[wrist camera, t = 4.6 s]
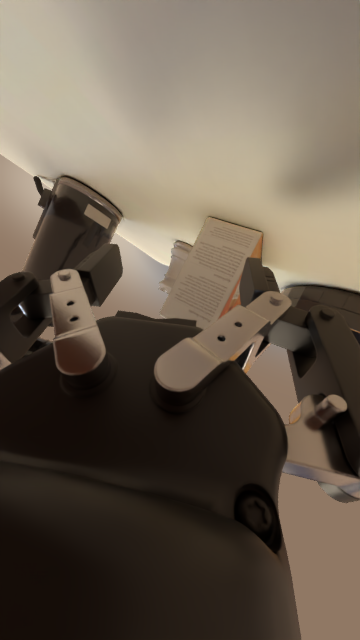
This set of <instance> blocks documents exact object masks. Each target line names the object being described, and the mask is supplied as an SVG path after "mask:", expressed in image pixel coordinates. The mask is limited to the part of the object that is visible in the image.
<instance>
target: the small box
mask: <svg viewBox="0 0 360 640" xmlns="http://www.w3.org/2000/svg"><path fill="white" fill-rule="evenodd" d="M262 238H263V233H262V232H258V231H255V230H251V229H248V228H244V227H241V226H238V225H234V224H231V223H228V222H225V221H221V220H218V219H215V218H211V217H208V218H207V219H206V221H205V223H204V225H203V227H202V229H201V231H200V233H199V235H198V237H197V239H196V241H195V243H194V245H193V247H192V249H191V251H190V253H189V255H188V257H187V259H186V261H185V263H184V265H183V267H182V269H181V271H180V273H179V275H178V277H177V279H176V281H175V283H174V285H173V287H172V289H171V291H170V293H169V295H168V297H167V299H166V301H165V303H164V305H163V307H162V309H161V311H160V315H161V316H163V317H165V318H166V319H168V318H181V319H189V320H197V323H196V326H197V327H200V328H202V329H206V328H207V327H208V326H210V325H211V324H212V323H214V322H215V321H217V320H218V319H219V318H221V317H222V316H223V315H225V314H226V313H227V312H229V311H230V310H231V309H233V308H234V307H236V306H237V305H239V304H240V305H241V302H240V293H239V285H240V280H241V276H242V272H243V269H244V265H245V261H246V258H247V257H252V258H260V259H261V251H262Z"/></svg>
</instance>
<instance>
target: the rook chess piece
mask: <svg viewBox="0 0 360 640" xmlns="http://www.w3.org/2000/svg"><path fill="white" fill-rule="evenodd" d="M191 249H192V247H191V246H190V245H188V244H186V243H183V242H180V241H178V242H175V243H174V248H172V250H171V253H172V256H171V263H170V266H169V269H168V271H167V273H166V274H165V278H164V280H163V281H161V282H159V284H160V287H159V289H160V290H162V291H163V292H165V291H167V292H166V293H167V294H169V293H170V291H171V289H172V287H173V285H174V283H175V281H176V279H177V277H178V275H179V273H180V271H181V269H182V267H183V265H184V263H185V261H186V259H187V257H188V255H189V253H190V251H191Z"/></svg>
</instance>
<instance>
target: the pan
mask: <svg viewBox="0 0 360 640" xmlns="http://www.w3.org/2000/svg"><path fill="white" fill-rule="evenodd" d="M282 294H284V295H286V296H287V297H289V299H290V300H291V303H292V304H291V306H293V307H295V308H298V309H301V310H305V311H308V312H309V310H310V308H311V307H312V306H315V305H323V306H328V307H331V308H333V309H335V310H337V311H338V312H339V313H341V314H342V315H343V317H344V319H345V320H346V322H347V324H348V326H349V327H350V329H351V331H352V333H353V334H354V336H355V338H356V340H357V342H358V343H359V345H360V295H358V294H355V293H351V292H347V291H342V290H337V289H332V288H326V287H319V286H295V287H291V288H286V289H284V290H283V291H282Z"/></svg>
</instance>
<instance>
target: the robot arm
mask: <svg viewBox="0 0 360 640" xmlns="http://www.w3.org/2000/svg"><path fill="white" fill-rule="evenodd" d="M34 181H35V184H36V187H37V190H38V192H39V194H40V195H41V198H40V201H39V203H38V205H39V206H40V207H42V208H43V209H44V210H43V213H42V215H41V217H40V220H39V222H38V225H37V227H36V229H35V232H34V234H33V238H34V239H35V241H34V243H33V246H32V248H31V251H30V253H29V255H28V257H27V260H26V262H25V264H24V267H23V270H22V272H18V273H15V274H12V275H10V276H8V277H6V278H5V279H4V280H2V281H1V282H0V640H301V634H300V628H299V622H298V615H297V609H296V602H295V596H294V590H293V583H292V577H291V571H290V566H289V561H288V556H287V551H286V547H285V543H284V538H283V534H282V529H281V525H280V519H279V512H278V490H279V482H280V477H281V473H282V472H283V473H287V474H291V475H295V476H299V477H303V478H307V479H311V480H314V481H317V482H318V484H319V485H320V486H321V488H322V489H323V490H324V491H325V492H326V493H327V494H328V495H329V496H330V497H332V498H334V499H335V500H337V501H339V502H344V503H348V502H353V501H358V500H360V345H359V343H358V342H357V340H356V338H355V336H354V334H353V333H352V331H351V329H350V327H349V326H348V324H347V322H346V320H345V319H344V317H343V315H342V314H341V313H339V312H338V311H337V310H335V309H333V308H331V307H328V306H323V305H315V306H312V307H311V308H310V310H309V312H308V311H305V310H301V309H298V308H295V307H293V306H291V304H292V303H291V300H290V299H289V297H287V296H286V295H284V294H282V293H280V291H279V288H278V285H277V282H276V280H275V277H274V274H273V272H272V271H271V270H270V269H269V268H268V267H263V266H262V263H261V259H260V258H252V257H247V258H246V261H245V265H244V269H243V272H242V276H241V280H240V285H239V293H240V302H241V305H240V304H239V305H237V306H236V307H234V308H233V309H231V310H230V311H229V312H227V313H226V314H225V315H223V316H222V317H221V318H219V319H218V320H217V321H215V322H214V323H212V324H211V325H210V326H208V327H207V328H206V329H202V328H200V327H197V326H196V323H197V320H189V319H181V318H168V319H153V318H150V317H147V316H144V315H141V314H138V313H133V312H125V311H118V312H117V314H116V315H115V316H112V317H106V318H102V319H99V320H97V321H96V320H95V317H94V315H93V312H92V310H91V306H99V307H100V306H101V305H102V304H103V302H104V301H105V299H106V298H107V296H108V295H109V293H110V292H111V291H112V289H113V288H114V286H115V285H116V283H117V282H118V281H119V279H120V278H121V276H122V272H123V267H122V262H121V256H120V251H119V247H118V245H117V244H110V242H111V239H112V237H113V235H114V233H115V231H116V228H117V226H118V224H119V223H120V221H121V219H122V215H121V214H120V212H119V211H118V210H117V209H116V208H115V207H114V206H113V205H112V204H111V203H109V202H108V201H107V200H106V199H104V198H103V197H102V196H100V195H99V194H97V193H96V192H94V191H93V190H91V189H90V188H88V187H86V186H85V185H83V184H81V183H79V182H77V181H75V180H73V179H70V178H67V177H61V178H60V179H58V178H57V179H56V182H55V184H54V187H53V189H52V191H51V190H48V189H44V190H43V187H42V183H41V180H40V179H39V177H37V176H34ZM47 326H49V327H50V326H51V327H54V333H55V338H54V339H53V341H50V340H47V339H44V338H41V337H39V336H40V335H41V334H42V332H43V331H44V330H45V329H46V327H47ZM271 343H272V344H274V345H277V346H280V347H282V348H285V349H287V353H288V358H289V363H290V367H291V372H292V376H293V381H294V385H295V390H296V395H297V399H298V405H297V406H296V407H295V408H294V409H293V410H292V411H291V413H290V416H289V424H284V423H283V421H282V419H281V417H280V415H279V413H278V412H277V410H276V409H275V408H274V406H273V405H272V404H271V403H270V402H269V401H268V399H267V398H266V397H265V396H264V395H263V393H262V392H261V391H260V390H259V389H258V388H257V386H256V385H255V384H254V383H253V382H252V380H251V379H250V378H249V377H248V376H247V375H246V373H247V372H248V370H249V369H250V367H251V366H252V364H253V363H254V362H255V361H256V360H257V359H258V358H259V356H260V355H261V354H262V353H263V352H264V351H265V350H266V349H267V348H268V347H269V346H270V345H271Z"/></svg>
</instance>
